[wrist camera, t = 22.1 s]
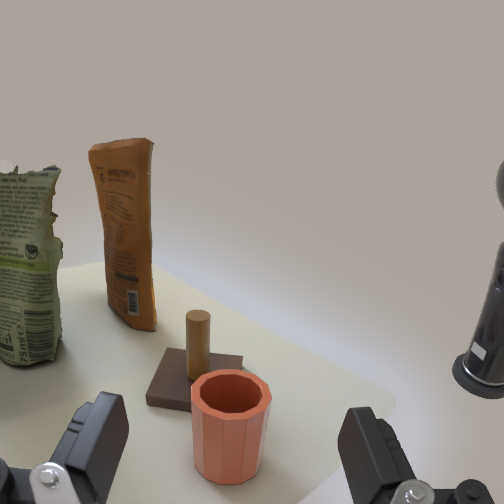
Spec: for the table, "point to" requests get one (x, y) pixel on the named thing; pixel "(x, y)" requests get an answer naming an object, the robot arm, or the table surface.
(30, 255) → the pouch
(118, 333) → the table surface
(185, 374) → the ring stand
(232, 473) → the faceted terracotta cup
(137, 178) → the pancake mix bag
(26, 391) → the table surface
